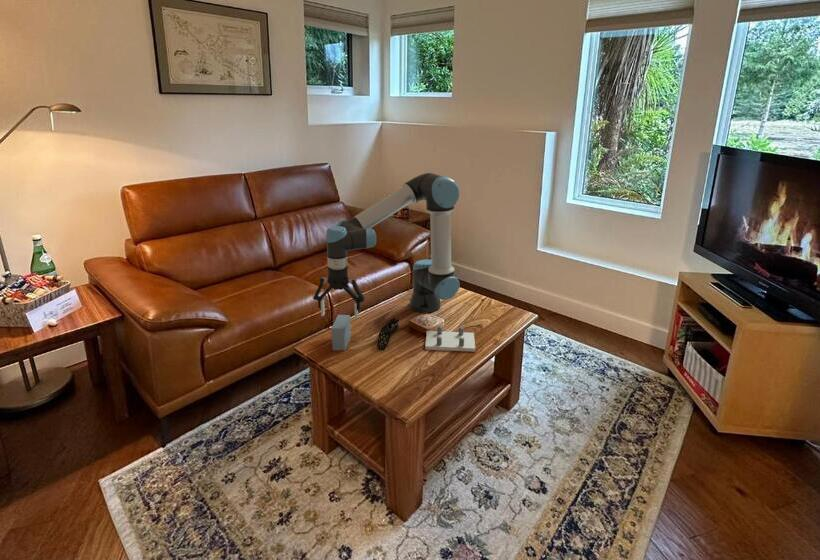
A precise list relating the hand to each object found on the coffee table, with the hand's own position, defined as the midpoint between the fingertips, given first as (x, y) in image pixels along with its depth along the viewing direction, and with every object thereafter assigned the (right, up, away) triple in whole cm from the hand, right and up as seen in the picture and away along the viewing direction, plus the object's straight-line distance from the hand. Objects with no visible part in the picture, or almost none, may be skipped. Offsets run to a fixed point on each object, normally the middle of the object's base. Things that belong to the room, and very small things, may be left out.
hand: (339, 316), depth 188 cm
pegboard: (+45, -11, +6) cm, 47 cm away
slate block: (0, -12, +5) cm, 13 cm away
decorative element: (+19, -10, +10) cm, 24 cm away
